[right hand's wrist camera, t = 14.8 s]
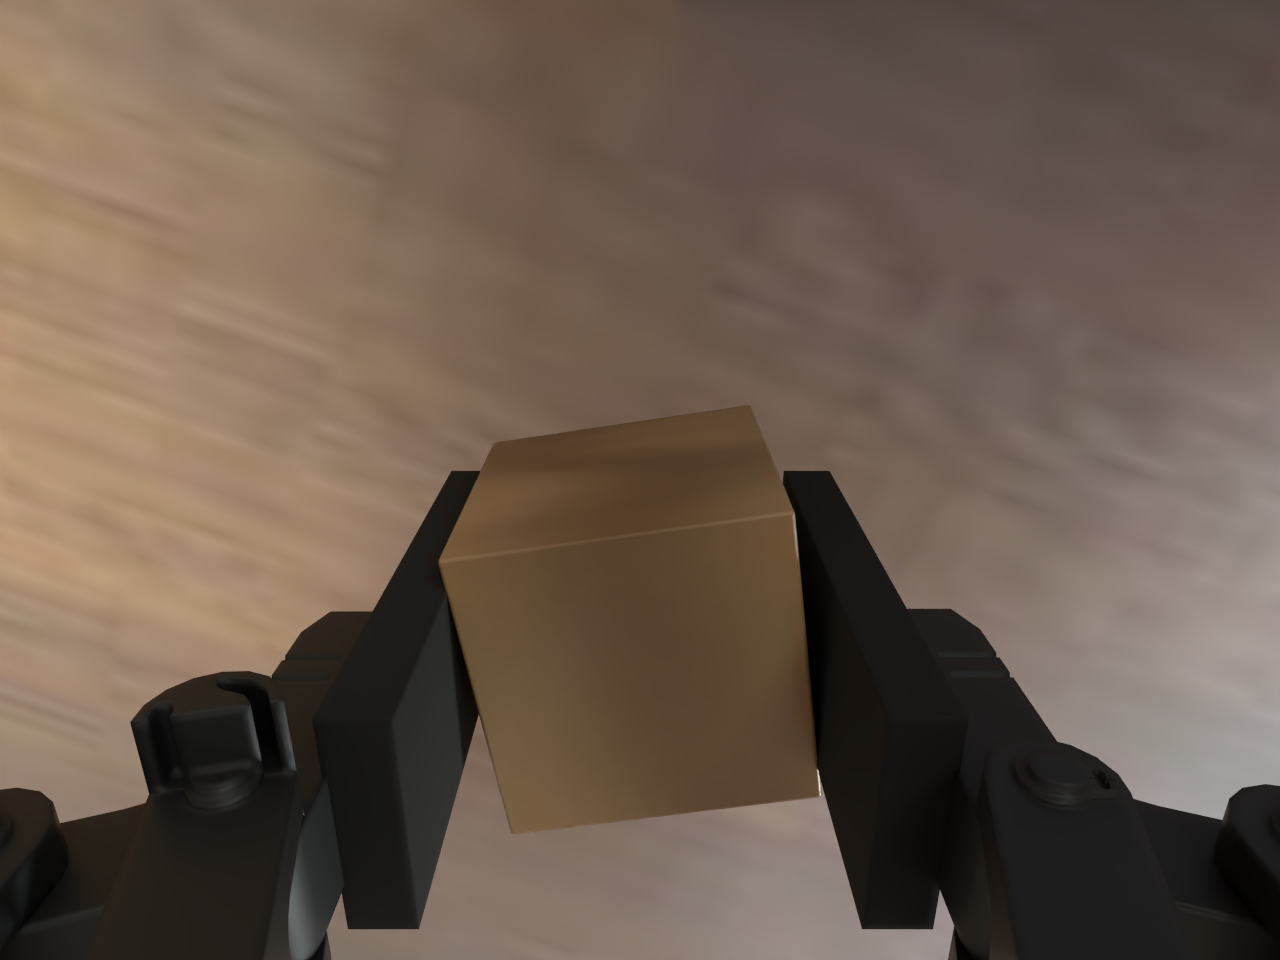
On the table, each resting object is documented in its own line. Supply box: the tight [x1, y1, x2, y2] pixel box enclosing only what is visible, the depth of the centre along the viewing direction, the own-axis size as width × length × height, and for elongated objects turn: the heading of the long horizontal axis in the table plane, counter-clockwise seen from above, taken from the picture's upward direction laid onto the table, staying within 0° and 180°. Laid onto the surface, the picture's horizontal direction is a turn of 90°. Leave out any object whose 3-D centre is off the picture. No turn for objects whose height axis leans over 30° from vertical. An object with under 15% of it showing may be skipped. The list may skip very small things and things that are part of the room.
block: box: [438, 406, 821, 834], centre depth 13 cm, size 4×4×4 cm
